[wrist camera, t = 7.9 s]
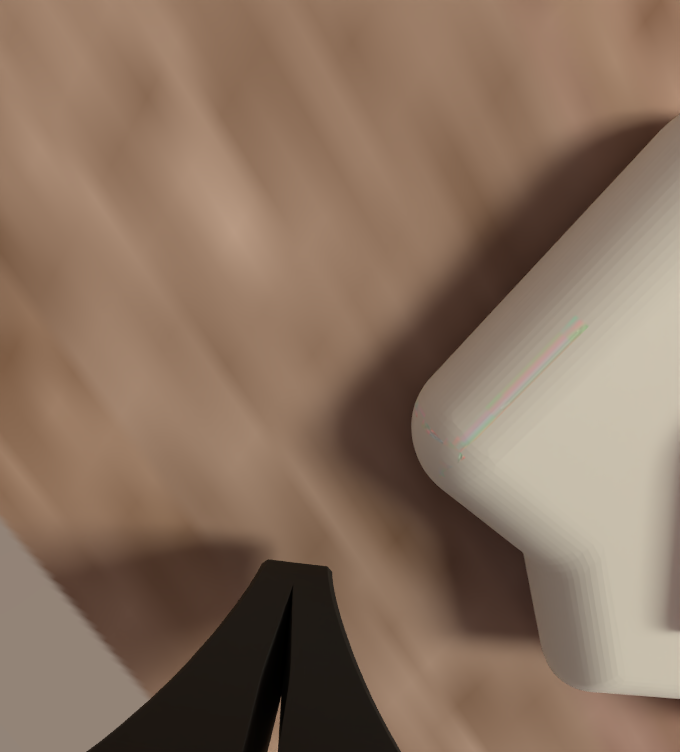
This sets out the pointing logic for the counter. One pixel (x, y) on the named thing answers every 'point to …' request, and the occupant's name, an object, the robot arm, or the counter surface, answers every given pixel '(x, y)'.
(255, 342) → the counter surface
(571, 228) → the icon
